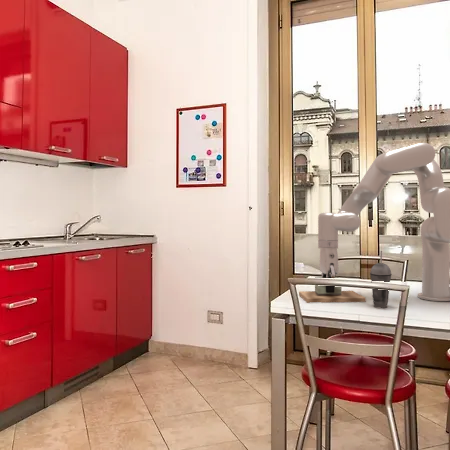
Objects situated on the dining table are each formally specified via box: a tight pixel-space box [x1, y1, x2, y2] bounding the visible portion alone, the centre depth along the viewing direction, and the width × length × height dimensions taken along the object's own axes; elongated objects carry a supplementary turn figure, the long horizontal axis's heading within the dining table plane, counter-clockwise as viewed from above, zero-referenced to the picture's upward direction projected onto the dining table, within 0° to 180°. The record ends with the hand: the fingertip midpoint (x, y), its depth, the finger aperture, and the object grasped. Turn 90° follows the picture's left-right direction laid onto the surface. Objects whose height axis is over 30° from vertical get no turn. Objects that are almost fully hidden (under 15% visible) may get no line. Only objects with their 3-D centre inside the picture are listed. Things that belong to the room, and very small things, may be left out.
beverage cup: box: [369, 250, 392, 309], centre depth 149 cm, size 7×7×20 cm
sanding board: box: [298, 290, 366, 304], centre depth 164 cm, size 22×14×2 cm, turn 92°
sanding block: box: [314, 276, 343, 295], centre depth 164 cm, size 9×5×6 cm, turn 92°
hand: (327, 290), depth 164 cm, fingers closed on sanding block, 5 cm apart
